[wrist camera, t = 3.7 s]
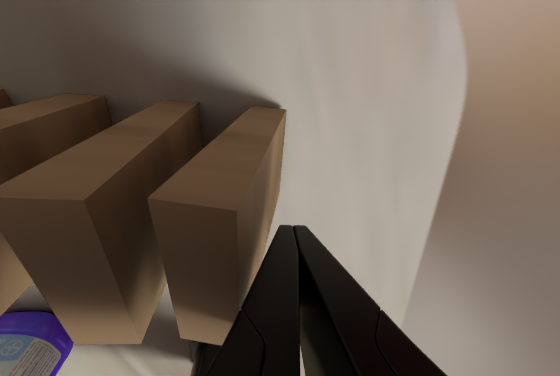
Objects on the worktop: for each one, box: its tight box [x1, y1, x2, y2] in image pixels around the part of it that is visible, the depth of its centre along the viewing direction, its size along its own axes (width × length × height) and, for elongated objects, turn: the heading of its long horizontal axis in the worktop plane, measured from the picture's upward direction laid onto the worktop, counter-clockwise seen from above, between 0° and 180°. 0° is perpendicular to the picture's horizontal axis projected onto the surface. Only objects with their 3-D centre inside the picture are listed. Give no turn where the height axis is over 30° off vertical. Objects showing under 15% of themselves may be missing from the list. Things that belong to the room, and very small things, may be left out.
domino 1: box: [0, 93, 113, 316], centre depth 9 cm, size 5×2×9 cm, turn 176°
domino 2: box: [0, 100, 203, 345], centre depth 10 cm, size 5×2×9 cm, turn 176°
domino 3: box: [147, 106, 286, 346], centre depth 10 cm, size 5×2×9 cm, turn 176°
